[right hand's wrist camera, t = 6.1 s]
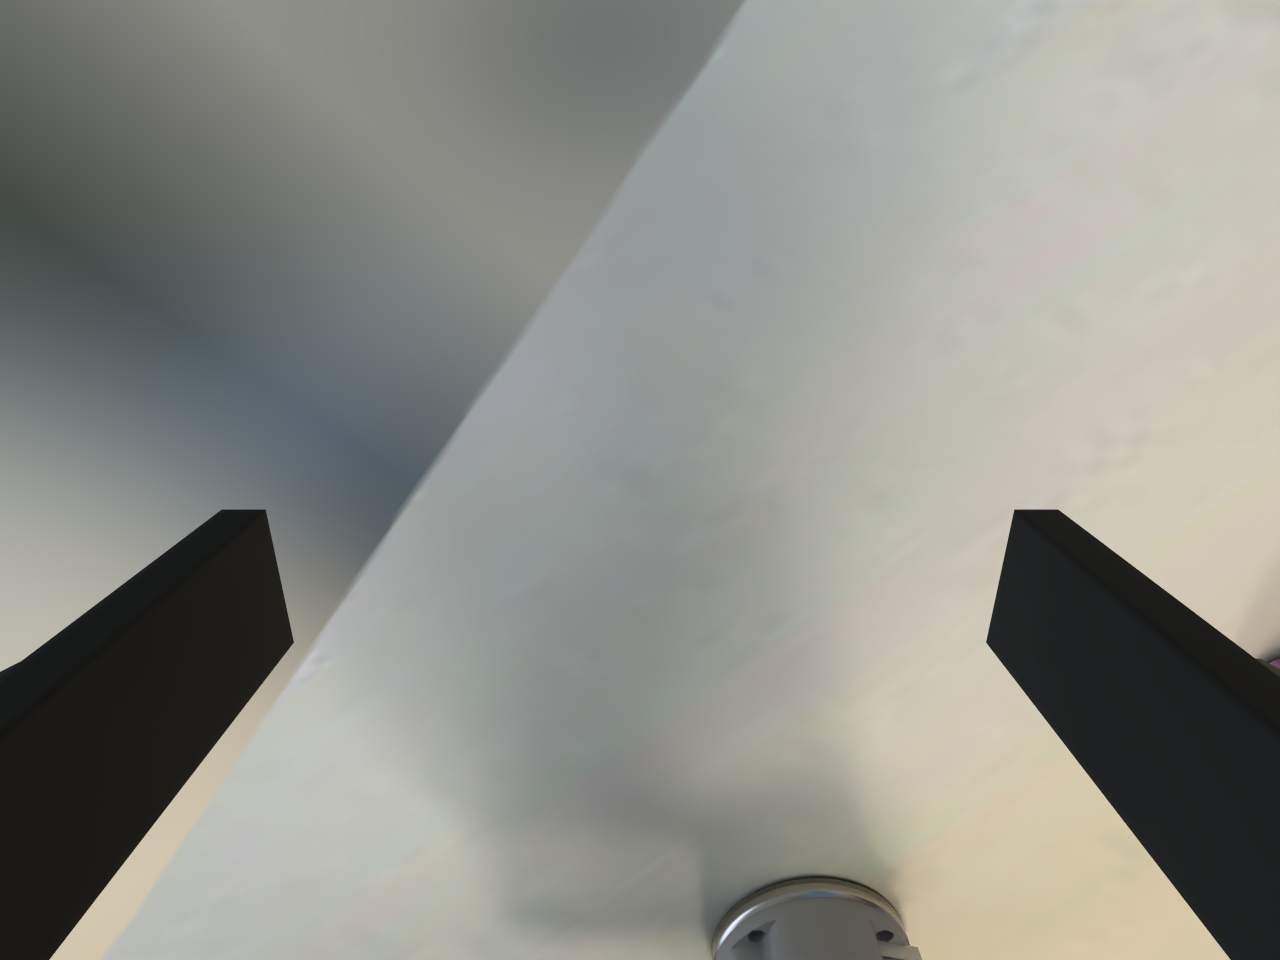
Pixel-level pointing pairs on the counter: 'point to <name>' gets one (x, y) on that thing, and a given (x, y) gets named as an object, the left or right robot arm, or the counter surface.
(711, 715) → the counter surface
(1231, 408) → the counter surface
